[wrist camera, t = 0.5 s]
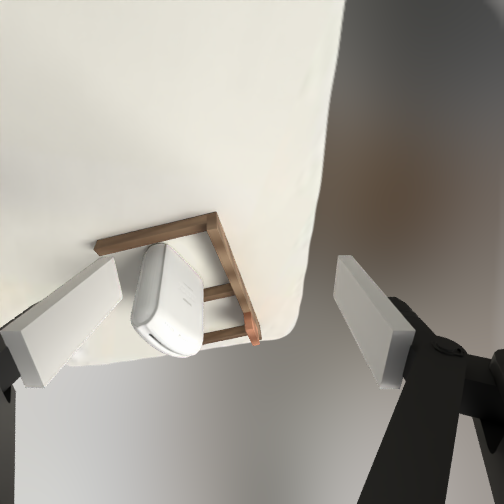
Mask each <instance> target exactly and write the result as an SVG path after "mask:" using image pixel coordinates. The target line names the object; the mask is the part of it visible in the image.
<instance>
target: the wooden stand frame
mask: <svg viewBox="0 0 504 504" xmlns="http://www.w3.org/2000/svg"><path fill="white" fill-rule="evenodd" d="M204 231H207V232H208V235H209V237H210V239H211V241H212V244H213V246H214V248H215V250H216V253H217V255H218V257H219V259H220V262H221V264H222V266H223V268H224V270H225V273H226V275H227V277H228V279H229V282H230V283H229V284H224V285H220V286H215V287H211V288H206V289H203V292H204V297H203V300H204V302H206V301H211V300H215V299H220V298H225V297H229V296H234V295H236V297H237V300H238V302H239V304H240V306H241V309H242V311H243V313H244V322H245V325H244V326H239V327H234V328H229V329H225V330H220V331H215V332H210V333H206V334H203V343H202V345H204V344H208V343H213V342H218V341H223V340H228V339H232V338H237V337H242V336H247V335H248V337H249V339H250V341H251V343H252V345H253V346H255V345H259V344H260V343H259V340H261V339H262V337H261V330H260V325H259V322H258V319H257V317H256V314H255V312H254V309H253V306H252V304H251V301H250V298H249V296H248V293H247V291H246V288H245V285H244V283H243V280H242V278H241V275H240V272H239V270H238V267H237V264H236V262H235V259H234V257H233V254H232V251H231V249H230V246H229V243H228V241H227V238H226V236H225V233H224V230H223V228H222V225H221V223H220V220H219V217H218V215H217V212H213V213H209V214H205V215H201V216H197V217H193V218H188V219H184V220H180V221H176V222H172V223H168V224H163V225H159V226H155V227H151V228H147V229H143V230H138V231H134V232H130V233H126V234H122V235H118V236H113V237H109V238H105V239H101V240H97V242H96V245H95V247H94V249H93V250H94V251H95V252H96V253H97V254H98V255H99V256H102V255H107V254H111V253H115V252H119V251H124V250H128V249H132V248H136V247H141V246H145V245H149V244H153V243H158V242H162V241H166V240H170V239H174V238H179V237H183V236H187V235H191V234H196V233H200V232H204Z"/></svg>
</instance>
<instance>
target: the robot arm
mask: <svg viewBox="0 0 504 504" xmlns="http://www.w3.org/2000/svg"><path fill="white" fill-rule="evenodd" d="M333 297H334V299H335V301H336V303H337V305H338V307H339V309H340V311H341V313H342V315H343V317H344V319H345V321H346V323H347V325H348V327H349V329H350V331H351V333H352V335H353V337H354V339H355V340H356V343H357V345H358V347H359V349H360V350H361V352H362V354H363V356H364V358H365V360H366V362H367V364H368V366H369V368H370V370H371V372H372V374H373V376H374V378H375V380H376V382H377V384H378V386H379V388H380V389H400V386H401V383H402V379H403V377H404V379H405V381H406V383H405V385H404V387H403V390H402V393H401V395H400V397H399V400H398V402H397V405H396V407H395V410H394V412H393V415H392V417H391V420H390V422H389V425H388V427H387V430H386V432H385V435H384V437H383V440H382V442H381V445H380V447H379V450H378V452H377V455H376V457H375V460H374V462H373V465H372V467H371V470H370V472H369V475H368V477H367V480H366V482H365V485H364V487H363V490H362V492H361V495H360V497H359V500H358V502H357V504H445V499H446V493H447V487H448V481H449V474H450V468H451V462H452V456H453V449H454V442H455V437H456V430H457V424H458V418H459V413H460V414H463V415H467V416H471V417H472V418H473V421H474V425H475V429H476V433H477V436H478V441H479V444H480V448H481V452H482V456H483V460H484V464H485V467H486V471H487V475H488V478H489V483H490V486H491V490H492V494H493V498H494V502H495V504H504V349H501V350H497V351H496V352H495V353H494V355H493V357H492V359H488V358H483V357H479V356H474V355H469V354H467V352H466V351H465V350H464V349H463V348H462V346H460V345H459V344H457V343H456V342H454V341H452V340H450V339H447V338H444V337H440V336H436V335H435V334H434V333H433V332H432V331H431V329H430V328H429V327H428V326H427V325H426V324H425V323H424V322H423V321H422V320H421V319H420V318H419V317H418V316H417V315H416V313H414V312H413V311H412V309H411V308H410V307H409V306H408V305H407V304H406V303H405V302H403V301H401V300H400V299H398V298H396V297H387V296H386V295H385V294H384V293H383V292H382V291H381V289H380V288H379V287H378V286H377V285H376V284H375V283H374V281H373V280H372V279H371V278H370V277H369V275H368V274H367V273H366V272H365V271H364V270H363V268H362V267H361V266H360V265H359V264H358V263H357V261H356V260H355V259H354V258H353V257H352V256H338V262H337V270H336V279H335V287H334V295H333ZM122 298H123V295H122V291H121V286H120V282H119V278H118V273H117V269H116V265H115V260H114V257H101V258H99V259H98V260H96V261H95V262H94V263H92V264H91V265H90V266H88V267H87V268H85V269H84V270H83V271H81V272H80V273H79V274H77V275H76V276H75V277H73V278H72V279H70V280H69V281H68V282H66V283H65V284H64V285H62V286H61V287H59V288H58V289H57V290H55V291H54V292H53V293H51V294H50V295H48V296H47V297H46V298H44V299H43V300H42V301H40V302H38V303H36V304H34V305H32V306H30V307H29V308H28V309H26V310H25V311H23V313H21V314H19V315H18V316H16V317H15V319H12V320H11V321H9V322H8V323H7V324H5V325H4V326H3V327H1V328H0V504H14V477H15V476H14V475H15V473H14V472H15V398H16V393H15V392H16V391H15V389H14V387H13V385H12V384H13V383H14V382H15V381H16V380H17V379H18V378H19V377H21V379H22V381H23V383H24V385H25V387H26V388H45V387H46V386H47V385H48V383H49V382H50V381H51V380H52V379H53V378H54V376H55V375H56V374H57V373H58V372H59V371H60V370H61V368H62V367H63V366H64V365H65V364H66V363H67V362H68V360H69V359H70V358H71V357H72V356H73V355H74V353H75V352H76V351H77V350H78V349H79V348H80V347H81V345H82V344H83V343H84V342H85V341H86V340H87V338H88V337H89V336H90V335H91V334H92V333H93V332H94V330H95V329H96V328H97V327H98V326H99V325H100V324H101V322H102V321H103V320H104V319H105V318H106V317H107V315H108V314H109V313H110V312H111V311H112V310H113V309H114V307H115V306H116V305H117V304H118V303H119V302H120V300H121V299H122Z"/></svg>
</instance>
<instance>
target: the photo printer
mask: <svg viewBox="0 0 504 504" xmlns="http://www.w3.org/2000/svg"><path fill="white" fill-rule="evenodd" d="M203 297H204V292H203V281H202V279H201V277H200V276H199V274H198V273H197V272H196V271H195V270H194V269H193V268H192V267H191V266H190V265H189V264H188V263H187V261H186V260H185V259H184V258H183V257H181V256H180V254H178V253H177V252H176V251H175V250H174V249H173V248H172V247H171V246H169V245H168V244H166V245H165V244H155V245H153V246H151V247H149V249H148V250H147V253H145V254H144V256H143V260H142V265H141V270H140V275H139V280H138V284H137V289H136V294H135V299H134V303H133V308H132V312H131V324H132V326H133V327H134V329H135V330H136V332H137V333H138V334H139V335H140V336H141V337H142V338H143V339H144V340H145V341H146V342H147V343H148V344H150V345H151V346H152V347H154V348H155V349H157V350H159V351H160V352H162V353H165V354H167V355H170V356H173V357H180V358H185V357H188V356H190V355H195V354H196V353H197V352H198V351H199V349H200V348H201V346H202V343H203V328H204V318H203V317H204V310H203V309H204V300H203Z"/></svg>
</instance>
